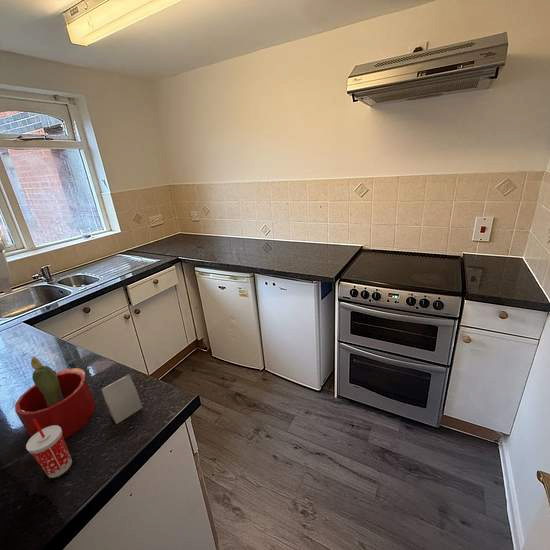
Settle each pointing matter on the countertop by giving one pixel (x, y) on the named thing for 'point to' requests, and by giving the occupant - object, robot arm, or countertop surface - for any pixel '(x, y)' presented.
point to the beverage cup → (50, 450)
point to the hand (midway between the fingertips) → (7, 289)
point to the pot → (58, 406)
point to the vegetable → (46, 382)
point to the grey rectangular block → (122, 399)
